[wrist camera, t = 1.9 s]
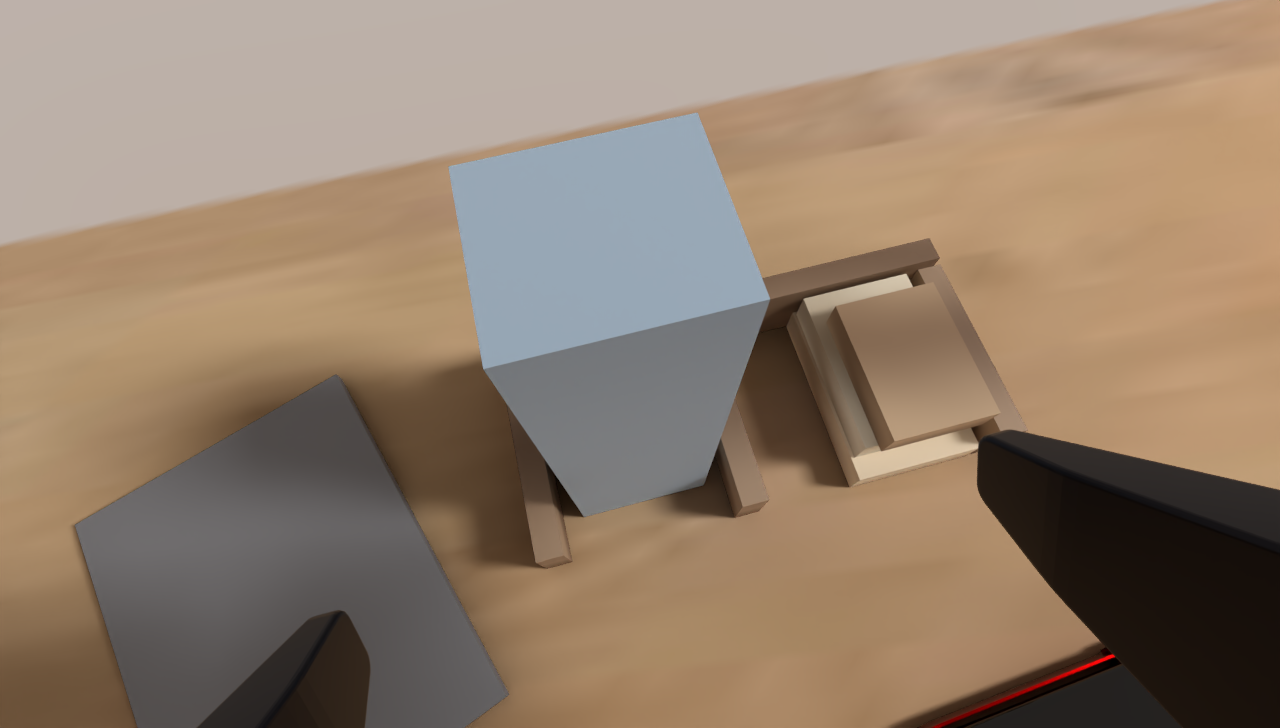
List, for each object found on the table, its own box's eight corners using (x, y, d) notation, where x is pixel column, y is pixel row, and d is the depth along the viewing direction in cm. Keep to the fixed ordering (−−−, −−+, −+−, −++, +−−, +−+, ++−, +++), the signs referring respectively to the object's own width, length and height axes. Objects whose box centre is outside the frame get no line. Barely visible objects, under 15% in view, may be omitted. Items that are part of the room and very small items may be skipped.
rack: (993, 447, 20) (1037, 424, 18) (547, 568, 19) (532, 561, 17) (907, 275, 23) (936, 236, 20) (510, 373, 22) (493, 343, 19)
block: (703, 485, 20) (770, 299, 8) (583, 516, 20) (483, 368, 8) (674, 388, 21) (697, 112, 10) (562, 416, 21) (448, 166, 9)
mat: (509, 694, 18) (506, 696, 17) (208, 916, 16) (198, 923, 15) (341, 378, 22) (336, 374, 21) (85, 526, 20) (74, 525, 19)
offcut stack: (964, 456, 20) (1019, 427, 17) (849, 487, 20) (885, 463, 17) (889, 301, 22) (927, 250, 19) (786, 326, 22) (807, 279, 19)
